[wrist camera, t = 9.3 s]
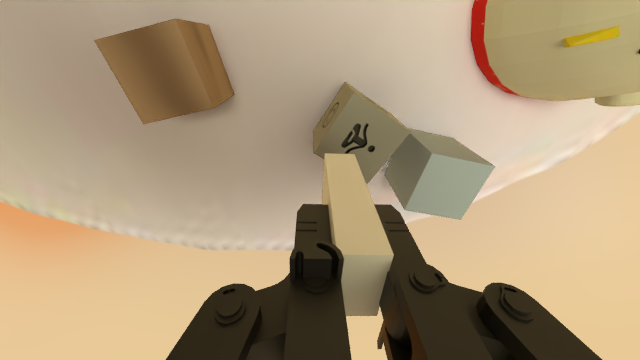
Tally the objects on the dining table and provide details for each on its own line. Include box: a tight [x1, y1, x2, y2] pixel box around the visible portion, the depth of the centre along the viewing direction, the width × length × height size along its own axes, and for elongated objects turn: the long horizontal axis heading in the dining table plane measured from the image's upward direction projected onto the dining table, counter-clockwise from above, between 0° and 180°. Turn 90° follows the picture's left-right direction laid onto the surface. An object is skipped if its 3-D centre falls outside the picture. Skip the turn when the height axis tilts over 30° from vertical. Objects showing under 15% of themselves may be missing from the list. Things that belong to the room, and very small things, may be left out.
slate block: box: [385, 128, 495, 220], centre depth 21 cm, size 5×5×6 cm
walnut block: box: [94, 19, 234, 124], centre depth 17 cm, size 5×5×5 cm
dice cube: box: [313, 82, 411, 184], centre depth 19 cm, size 5×5×5 cm
